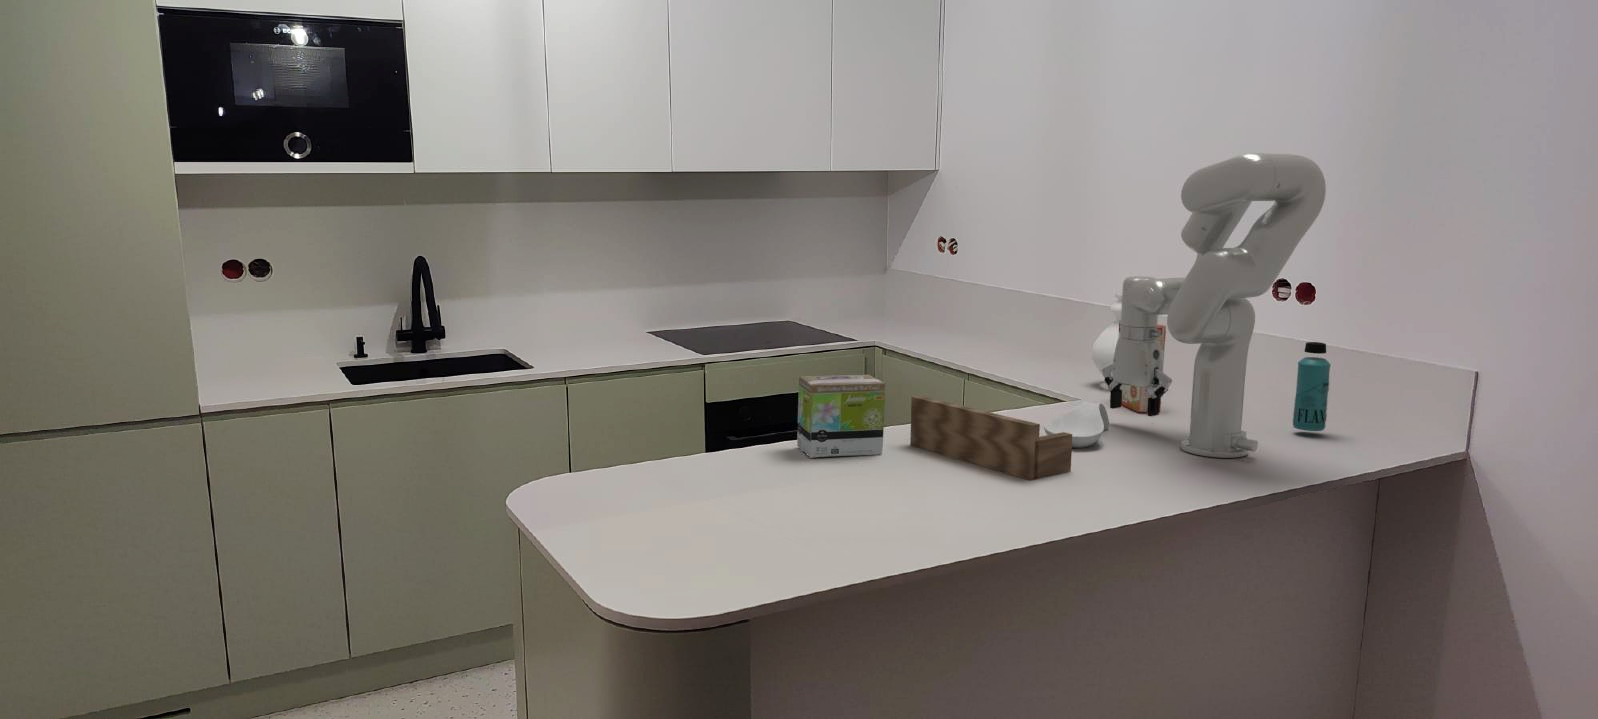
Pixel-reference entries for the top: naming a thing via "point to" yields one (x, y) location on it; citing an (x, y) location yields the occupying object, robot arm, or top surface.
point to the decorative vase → (1108, 341)
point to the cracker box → (1136, 395)
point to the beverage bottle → (1312, 390)
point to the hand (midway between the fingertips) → (1133, 411)
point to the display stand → (988, 439)
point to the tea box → (840, 415)
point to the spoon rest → (1081, 423)
